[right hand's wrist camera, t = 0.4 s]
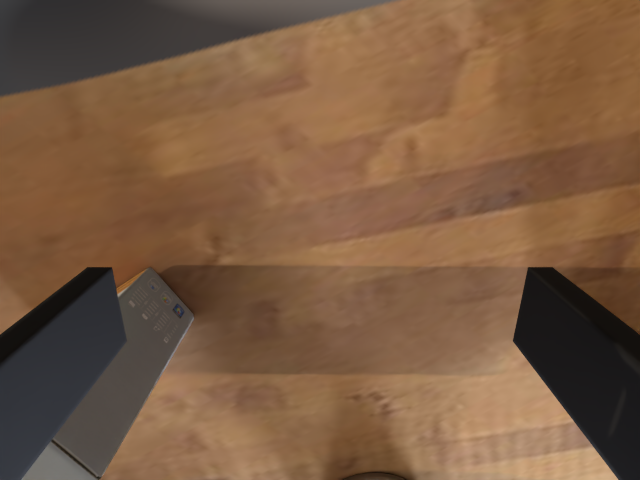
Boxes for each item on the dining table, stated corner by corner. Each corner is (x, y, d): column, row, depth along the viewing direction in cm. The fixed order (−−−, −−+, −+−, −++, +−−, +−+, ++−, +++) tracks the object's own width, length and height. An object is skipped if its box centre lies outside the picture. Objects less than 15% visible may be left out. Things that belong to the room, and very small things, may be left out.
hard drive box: (150, 262, 42) (14, 405, 23) (197, 315, 44) (107, 483, 25) (47, 331, 45) (-147, 506, 26) (96, 377, 47) (-51, 567, 28)
